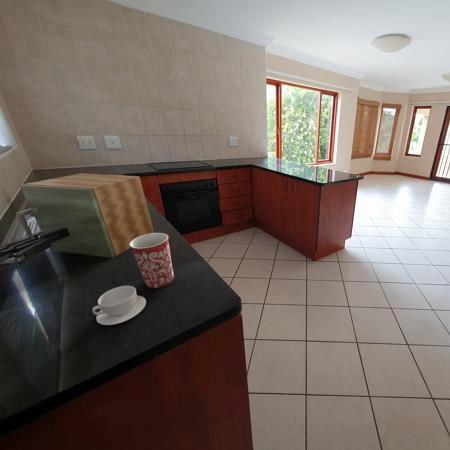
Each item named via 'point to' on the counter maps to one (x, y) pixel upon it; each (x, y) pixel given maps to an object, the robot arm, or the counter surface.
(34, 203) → the door
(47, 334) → the counter surface
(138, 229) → the cupboard
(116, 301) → the teacup
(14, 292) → the counter surface
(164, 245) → the mug
